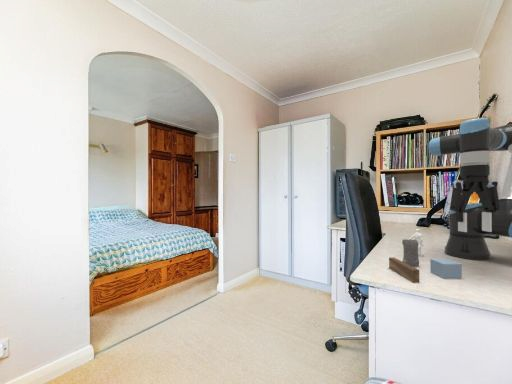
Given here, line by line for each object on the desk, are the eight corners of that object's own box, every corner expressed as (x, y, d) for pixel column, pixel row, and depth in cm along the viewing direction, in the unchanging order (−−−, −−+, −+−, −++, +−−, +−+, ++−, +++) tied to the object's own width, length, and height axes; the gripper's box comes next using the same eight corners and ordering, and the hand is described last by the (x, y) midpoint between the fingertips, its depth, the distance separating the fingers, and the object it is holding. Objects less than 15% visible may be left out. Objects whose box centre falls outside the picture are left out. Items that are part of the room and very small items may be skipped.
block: (447, 272, 85) (447, 258, 85) (461, 279, 79) (461, 264, 79) (430, 272, 85) (430, 258, 85) (443, 279, 79) (443, 264, 79)
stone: (420, 267, 90) (420, 241, 90) (403, 265, 92) (403, 240, 92) (417, 264, 94) (418, 239, 93) (401, 263, 95) (401, 238, 95)
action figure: (425, 255, 105) (424, 229, 105) (421, 257, 103) (421, 229, 103) (409, 252, 110) (408, 227, 110) (405, 254, 108) (405, 228, 108)
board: (394, 267, 90) (394, 257, 90) (419, 282, 76) (419, 270, 76) (389, 268, 90) (389, 257, 90) (413, 282, 76) (413, 270, 76)
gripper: (493, 165, 85) (493, 229, 85) (436, 166, 85) (436, 229, 85) (516, 163, 77) (516, 232, 77) (453, 164, 78) (453, 233, 78)
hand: (474, 231), depth 81 cm, fingers open, 8 cm apart
